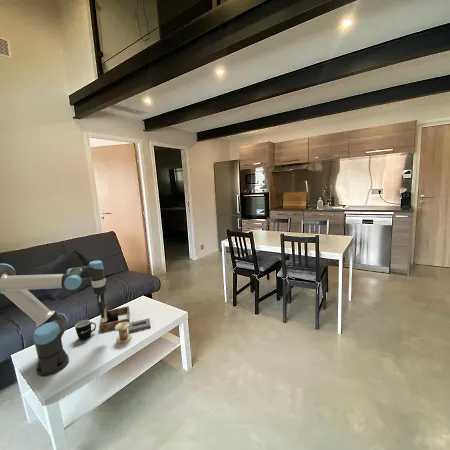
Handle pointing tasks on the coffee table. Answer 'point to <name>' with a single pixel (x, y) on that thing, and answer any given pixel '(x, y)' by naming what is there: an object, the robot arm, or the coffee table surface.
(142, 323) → the board
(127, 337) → the wooden spool
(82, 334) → the mug
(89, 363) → the coffee table surface
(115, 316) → the film camera
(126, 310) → the caddy
